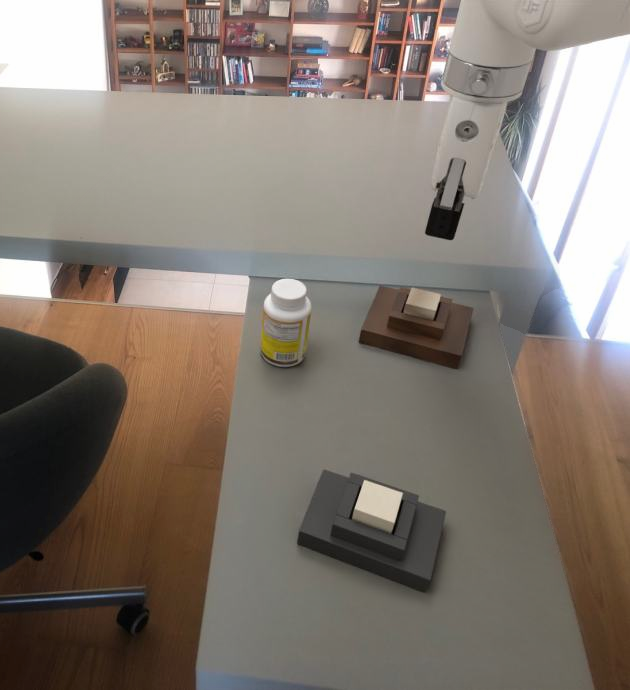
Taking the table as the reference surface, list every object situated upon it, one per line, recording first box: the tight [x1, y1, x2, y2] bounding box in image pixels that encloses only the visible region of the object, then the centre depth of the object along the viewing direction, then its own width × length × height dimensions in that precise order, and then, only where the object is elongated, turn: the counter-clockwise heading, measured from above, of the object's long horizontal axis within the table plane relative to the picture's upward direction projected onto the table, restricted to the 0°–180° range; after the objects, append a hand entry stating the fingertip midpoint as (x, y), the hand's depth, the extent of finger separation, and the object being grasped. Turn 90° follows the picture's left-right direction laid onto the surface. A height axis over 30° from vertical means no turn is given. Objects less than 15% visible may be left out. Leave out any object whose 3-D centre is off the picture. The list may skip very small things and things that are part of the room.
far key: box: [404, 287, 442, 321], centre depth 86 cm, size 4×4×2 cm
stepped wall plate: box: [296, 468, 447, 593], centre depth 65 cm, size 12×8×4 cm, turn 64°
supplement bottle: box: [260, 278, 312, 368], centre depth 83 cm, size 6×6×10 cm
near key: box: [352, 480, 403, 534], centre depth 64 cm, size 4×4×2 cm
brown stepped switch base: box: [358, 285, 475, 370], centre depth 87 cm, size 12×10×4 cm
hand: (439, 234), depth 79 cm, fingers closed
